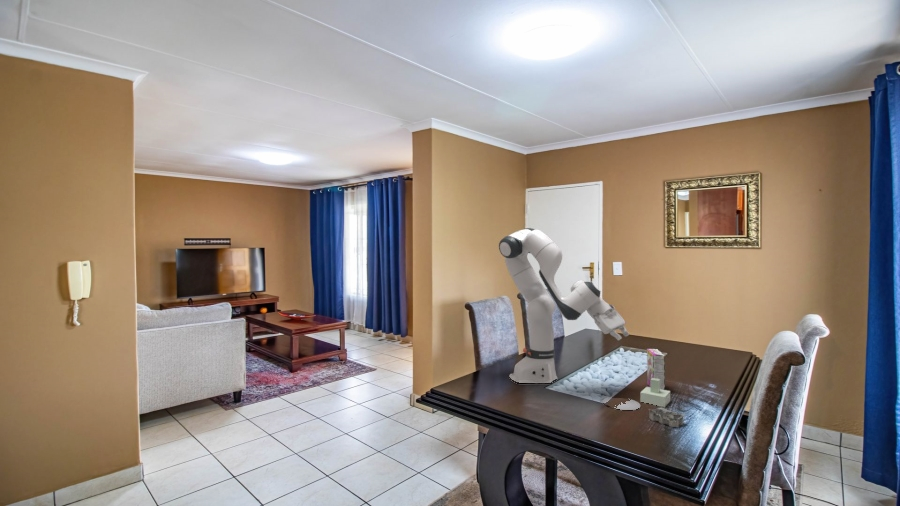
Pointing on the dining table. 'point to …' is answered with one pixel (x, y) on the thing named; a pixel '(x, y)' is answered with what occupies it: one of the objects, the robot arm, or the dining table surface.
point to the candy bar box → (656, 366)
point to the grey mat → (628, 406)
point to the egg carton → (666, 417)
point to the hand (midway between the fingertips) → (624, 337)
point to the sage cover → (655, 394)
